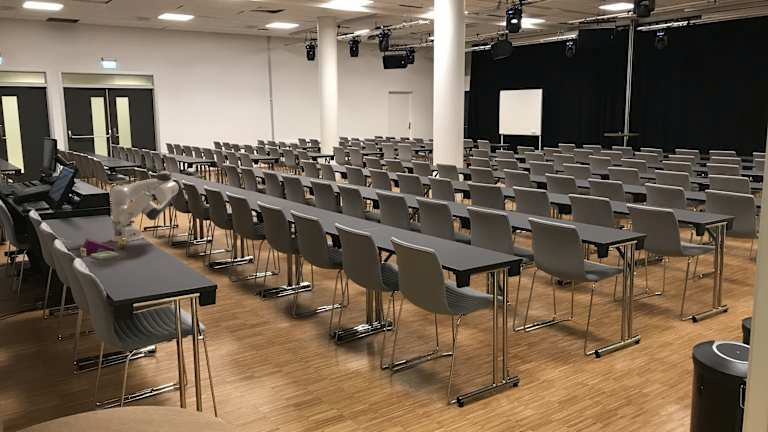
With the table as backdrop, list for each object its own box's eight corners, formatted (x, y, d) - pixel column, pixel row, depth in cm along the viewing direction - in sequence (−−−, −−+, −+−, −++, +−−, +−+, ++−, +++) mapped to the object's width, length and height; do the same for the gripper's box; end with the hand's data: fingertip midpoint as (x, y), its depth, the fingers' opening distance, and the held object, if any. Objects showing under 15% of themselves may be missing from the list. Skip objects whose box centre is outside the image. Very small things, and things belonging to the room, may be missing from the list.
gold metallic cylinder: (124, 247, 436) (123, 237, 434) (127, 248, 433) (127, 238, 432) (117, 248, 432) (117, 238, 431) (121, 249, 429) (120, 239, 428)
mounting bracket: (108, 258, 429) (81, 249, 420) (114, 247, 430) (86, 238, 421) (110, 261, 421) (82, 252, 412) (116, 249, 422) (88, 240, 413)
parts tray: (108, 253, 417) (108, 250, 417) (118, 256, 410) (118, 253, 410) (90, 256, 408) (90, 254, 408) (100, 259, 401) (100, 256, 400)
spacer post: (120, 234, 417) (119, 220, 415) (123, 235, 414) (121, 221, 413) (114, 235, 414) (113, 221, 412) (117, 236, 411) (115, 222, 410)
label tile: (81, 255, 413) (81, 247, 412) (86, 256, 409) (86, 248, 408) (80, 255, 412) (80, 247, 412) (85, 256, 409) (85, 248, 408)
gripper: (137, 217, 407) (121, 233, 405) (134, 212, 426) (120, 228, 423) (129, 211, 405) (113, 227, 402) (127, 206, 423) (112, 222, 421)
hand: (116, 227), depth 413 cm, fingers closed on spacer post, 4 cm apart
